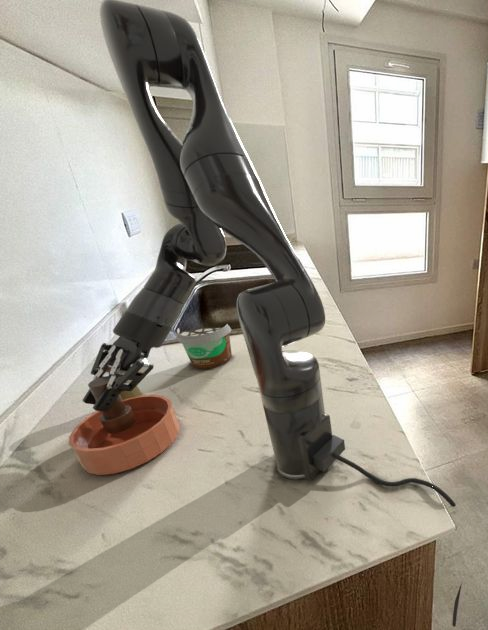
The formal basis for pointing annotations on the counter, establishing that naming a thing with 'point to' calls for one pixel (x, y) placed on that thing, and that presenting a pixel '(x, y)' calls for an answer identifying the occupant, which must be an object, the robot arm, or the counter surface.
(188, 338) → the food container
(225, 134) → the robot arm
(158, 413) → the bowl
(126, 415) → the pestle
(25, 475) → the counter surface
